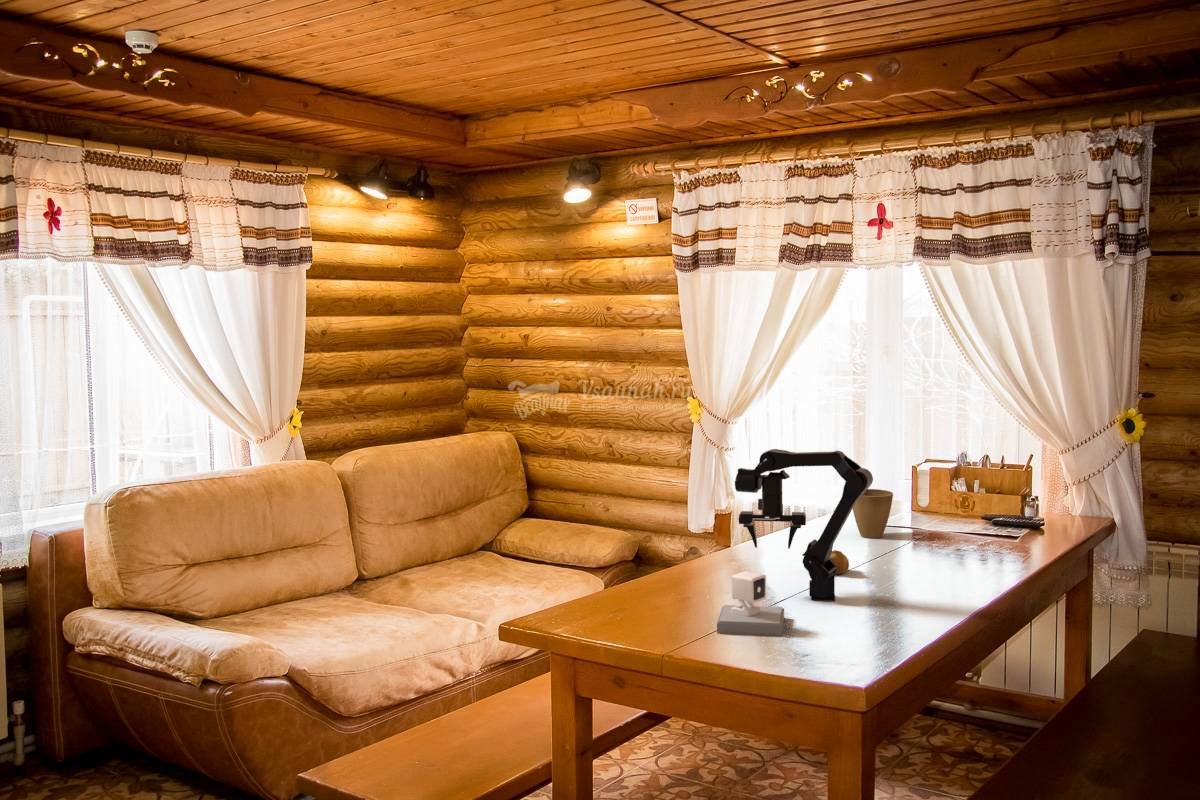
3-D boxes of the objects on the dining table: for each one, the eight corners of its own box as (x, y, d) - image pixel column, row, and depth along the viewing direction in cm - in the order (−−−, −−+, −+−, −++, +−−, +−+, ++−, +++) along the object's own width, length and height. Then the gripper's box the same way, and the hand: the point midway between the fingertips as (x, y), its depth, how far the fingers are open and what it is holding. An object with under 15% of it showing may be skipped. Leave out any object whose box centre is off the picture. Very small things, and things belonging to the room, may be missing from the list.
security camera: (752, 618, 265) (751, 578, 264) (729, 613, 269) (729, 574, 269) (766, 612, 269) (766, 574, 268) (744, 608, 274) (743, 570, 273)
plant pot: (841, 535, 378) (841, 491, 377) (874, 530, 384) (874, 487, 383) (868, 542, 365) (868, 496, 364) (902, 538, 371) (902, 493, 370)
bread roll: (801, 571, 325) (801, 546, 324) (819, 566, 332) (818, 541, 331) (838, 578, 316) (838, 552, 315) (855, 572, 323) (855, 546, 322)
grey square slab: (784, 617, 275) (784, 606, 275) (781, 635, 259) (781, 623, 259) (722, 615, 278) (722, 604, 278) (717, 633, 263) (716, 621, 262)
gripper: (805, 489, 304) (806, 543, 305) (741, 488, 308) (741, 541, 309) (805, 496, 293) (805, 551, 294) (738, 495, 297) (738, 549, 298)
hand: (772, 548), depth 299 cm, fingers open, 9 cm apart
